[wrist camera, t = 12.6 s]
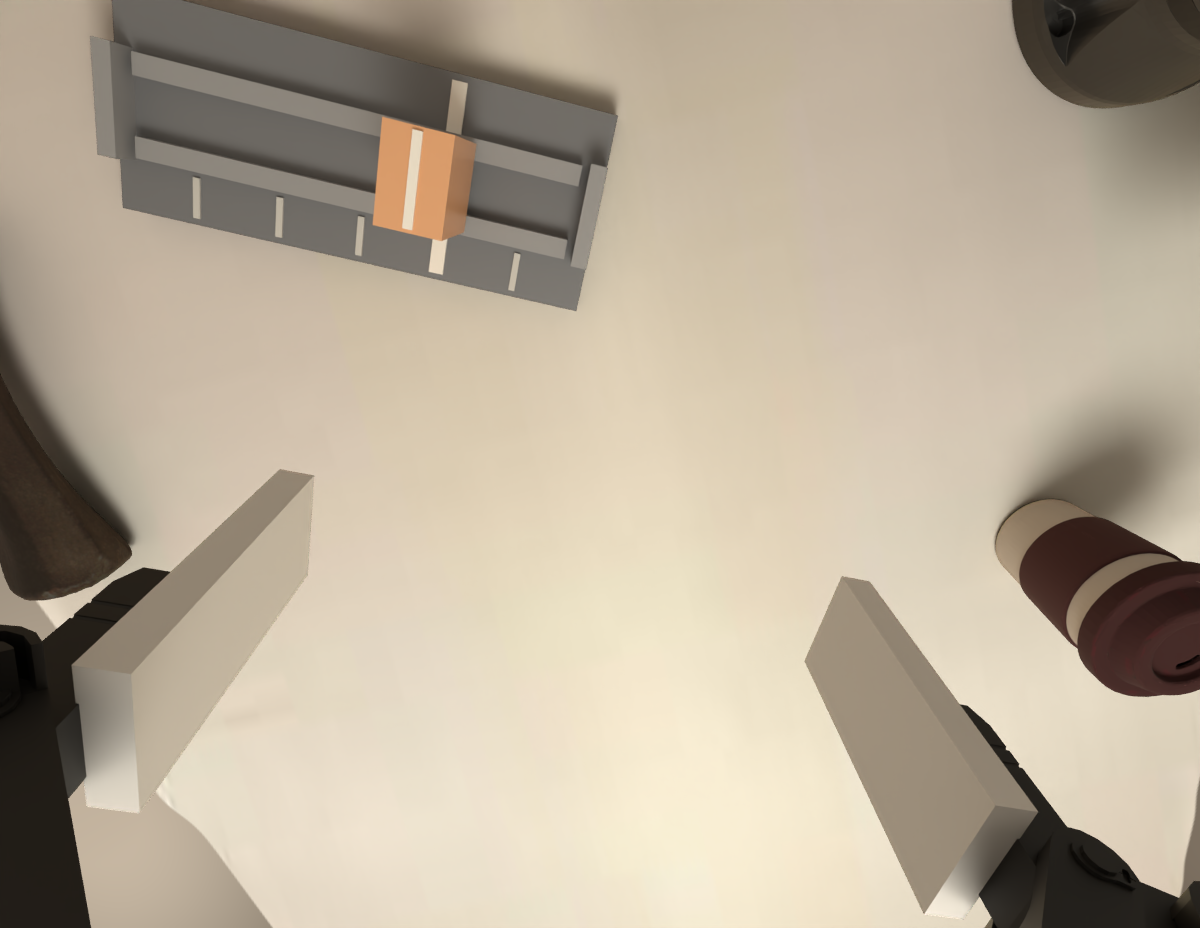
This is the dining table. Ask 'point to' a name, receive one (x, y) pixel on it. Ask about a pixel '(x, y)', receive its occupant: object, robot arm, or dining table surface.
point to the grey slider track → (341, 147)
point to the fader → (422, 180)
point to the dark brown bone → (47, 520)
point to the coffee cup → (1109, 596)
